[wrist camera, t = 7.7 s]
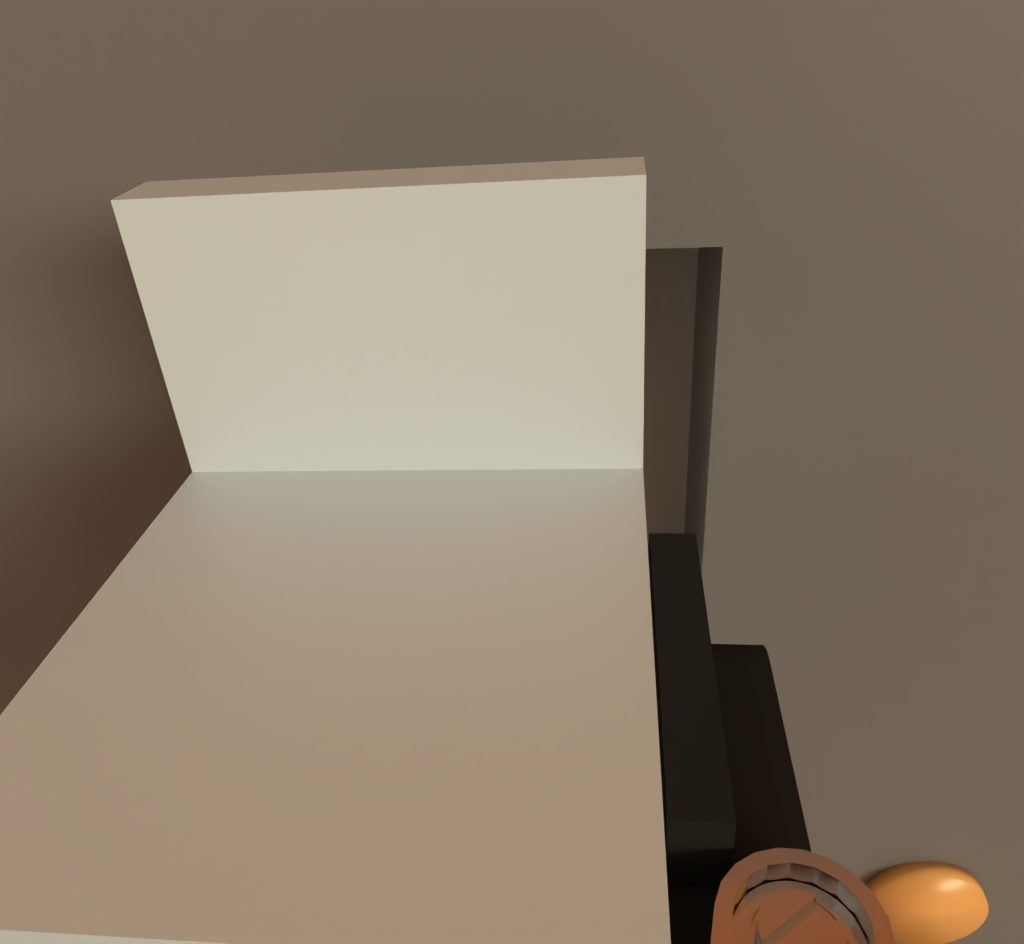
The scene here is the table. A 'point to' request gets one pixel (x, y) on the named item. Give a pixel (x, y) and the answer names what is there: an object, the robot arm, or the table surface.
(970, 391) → the chassis
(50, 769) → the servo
